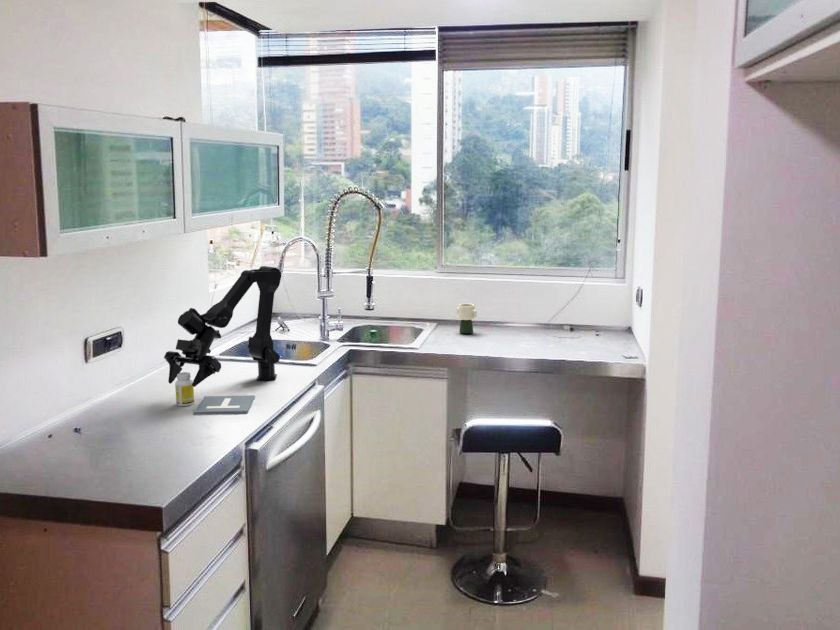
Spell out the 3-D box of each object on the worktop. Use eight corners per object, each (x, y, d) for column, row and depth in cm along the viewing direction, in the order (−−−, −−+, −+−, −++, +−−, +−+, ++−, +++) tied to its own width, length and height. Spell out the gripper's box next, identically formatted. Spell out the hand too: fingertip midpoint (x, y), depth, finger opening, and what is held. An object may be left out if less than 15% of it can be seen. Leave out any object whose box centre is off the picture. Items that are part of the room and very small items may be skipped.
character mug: (480, 333, 343) (481, 305, 340) (471, 336, 338) (471, 307, 335) (461, 330, 350) (461, 302, 347) (451, 332, 345) (452, 304, 342)
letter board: (204, 398, 248) (204, 396, 248) (254, 397, 249) (254, 394, 249) (194, 414, 232) (193, 411, 232) (247, 413, 233) (247, 410, 233)
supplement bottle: (197, 402, 244) (196, 372, 242) (188, 407, 239) (186, 376, 237) (182, 400, 246) (181, 371, 244) (172, 405, 241) (171, 375, 239)
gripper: (165, 326, 245) (143, 368, 237) (213, 331, 238) (192, 374, 230) (183, 345, 254) (162, 386, 246) (230, 350, 247) (210, 392, 239)
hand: (181, 384), depth 240 cm, fingers open, 9 cm apart
